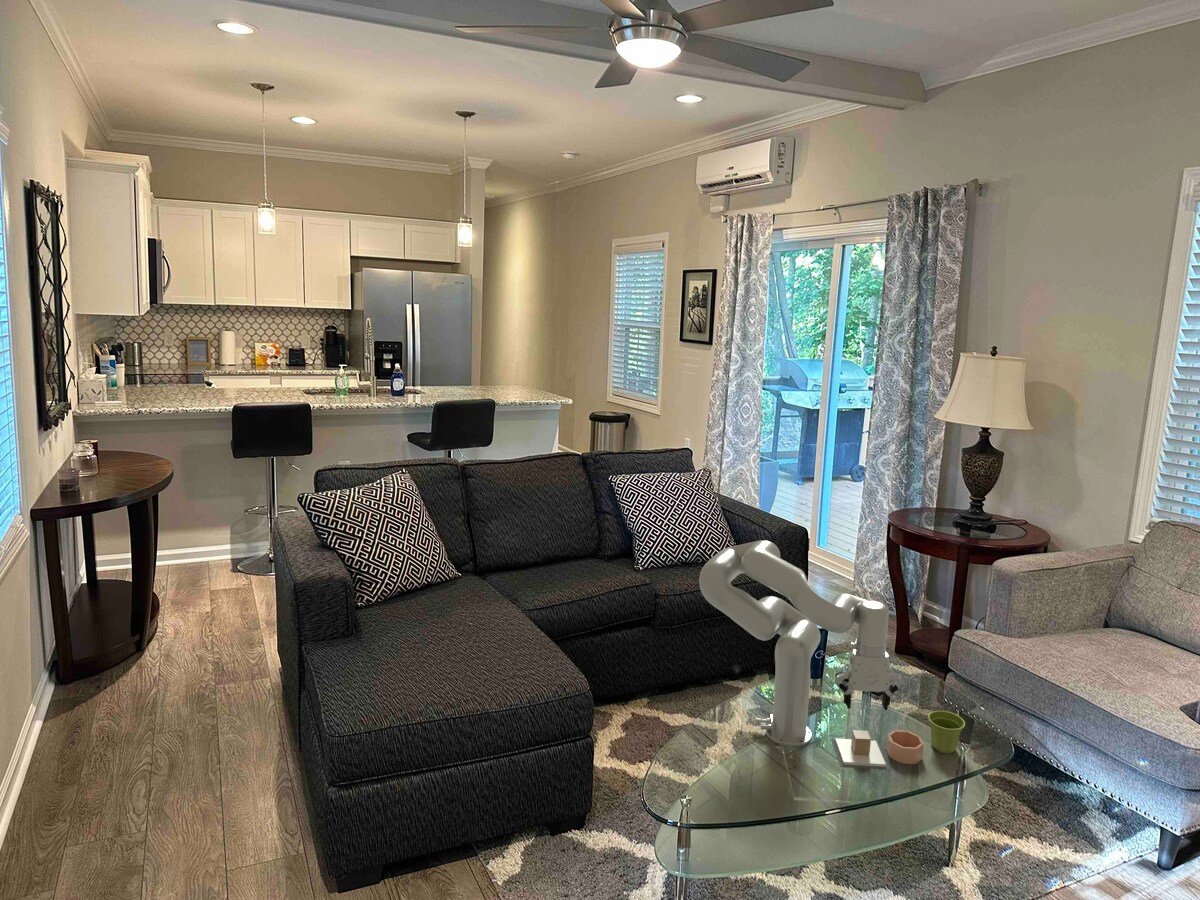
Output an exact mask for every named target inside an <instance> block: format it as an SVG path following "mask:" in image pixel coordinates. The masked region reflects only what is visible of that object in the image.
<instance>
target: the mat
mask: <svg viewBox="0 0 1200 900" xmlns="http://www.w3.org/2000/svg"><path fill="white" fill-rule="evenodd" d="M835 739H836V738H830V740H831V743H832V746H833V749H834V752H835V755H836V758H837V761H838V764H839V767H841V768H856V769H858V768H859V769H873V770H874V769H876V770H889V771H890V770H891V768H890V765H889V763H888V761H887V759H886V756H885V754H884V751H883V750H882V749H883V748H882V747H881V744H880V742H879V741H877V740H875V741H876V742H877V745H878V747H879V749H880V752H881V754H882V756H883V759H884V761H885V763H886V767H878V766H861V765H844V764H843V762H842V759H841V756H840V753H839V750H838V747H837V744H836V742H835Z"/></svg>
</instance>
